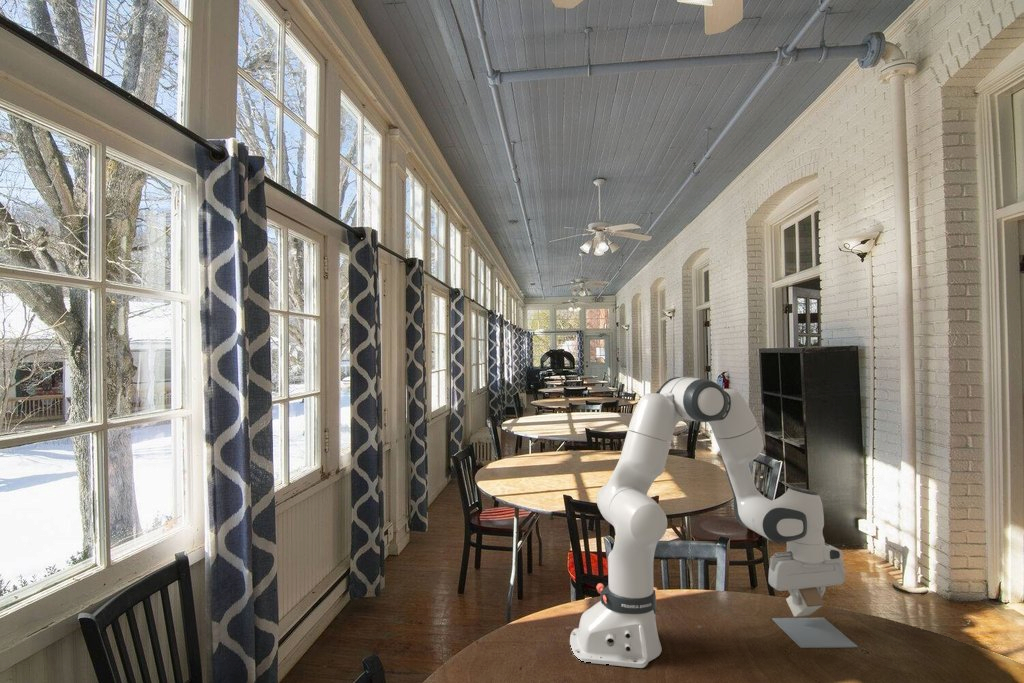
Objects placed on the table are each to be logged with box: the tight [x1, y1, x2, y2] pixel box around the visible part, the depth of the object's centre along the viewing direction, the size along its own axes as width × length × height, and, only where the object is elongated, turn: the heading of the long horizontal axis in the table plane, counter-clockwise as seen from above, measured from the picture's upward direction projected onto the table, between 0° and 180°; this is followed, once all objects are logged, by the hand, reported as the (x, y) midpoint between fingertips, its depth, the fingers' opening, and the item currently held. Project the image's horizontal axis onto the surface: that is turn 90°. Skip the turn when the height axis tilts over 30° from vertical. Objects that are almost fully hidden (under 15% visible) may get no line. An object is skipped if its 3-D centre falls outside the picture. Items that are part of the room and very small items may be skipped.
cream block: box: [785, 587, 826, 618], centre depth 137 cm, size 4×4×8 cm
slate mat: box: [771, 617, 859, 649], centre depth 135 cm, size 14×14×1 cm
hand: (807, 603), depth 137 cm, fingers closed on cream block, 4 cm apart
